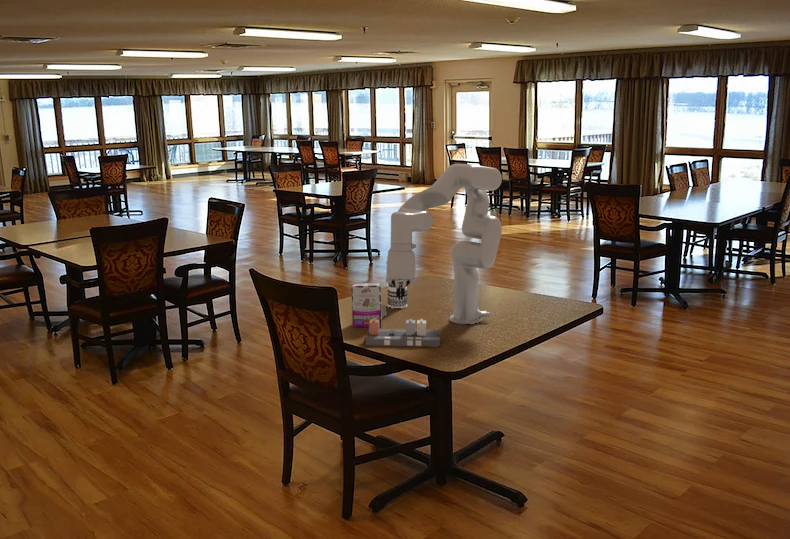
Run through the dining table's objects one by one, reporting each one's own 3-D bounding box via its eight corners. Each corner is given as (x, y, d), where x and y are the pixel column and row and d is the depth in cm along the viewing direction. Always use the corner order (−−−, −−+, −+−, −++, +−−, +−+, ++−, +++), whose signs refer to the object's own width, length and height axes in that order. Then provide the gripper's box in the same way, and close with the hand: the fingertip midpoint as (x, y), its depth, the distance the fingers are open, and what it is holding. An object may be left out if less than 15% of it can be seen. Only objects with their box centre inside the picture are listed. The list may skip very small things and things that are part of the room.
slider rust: (379, 331, 263) (379, 317, 261) (378, 334, 259) (378, 321, 258) (370, 331, 263) (370, 317, 262) (369, 334, 259) (369, 320, 258)
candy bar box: (381, 323, 282) (381, 282, 278) (381, 327, 277) (381, 285, 273) (352, 323, 282) (352, 282, 278) (352, 327, 277) (351, 285, 273)
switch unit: (439, 336, 266) (440, 327, 265) (439, 346, 254) (440, 337, 253) (369, 335, 267) (369, 326, 267) (365, 345, 255) (365, 336, 255)
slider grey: (415, 332, 262) (415, 318, 261) (414, 335, 258) (414, 321, 257) (406, 332, 262) (406, 318, 261) (405, 335, 258) (405, 321, 257)
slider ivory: (426, 332, 262) (426, 318, 260) (425, 335, 258) (426, 321, 257) (417, 332, 262) (417, 318, 261) (416, 335, 258) (416, 321, 257)
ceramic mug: (377, 322, 283) (377, 303, 282) (359, 319, 287) (359, 300, 286) (391, 316, 292) (391, 298, 290) (374, 313, 296) (374, 295, 295)
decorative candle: (395, 310, 300) (395, 250, 295) (382, 305, 308) (381, 247, 302) (412, 306, 306) (413, 248, 301) (398, 302, 313) (398, 245, 308)
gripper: (422, 246, 257) (421, 296, 260) (380, 245, 257) (379, 295, 261) (422, 249, 249) (421, 301, 253) (379, 248, 250) (378, 300, 253)
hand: (400, 298), depth 257 cm, fingers closed
